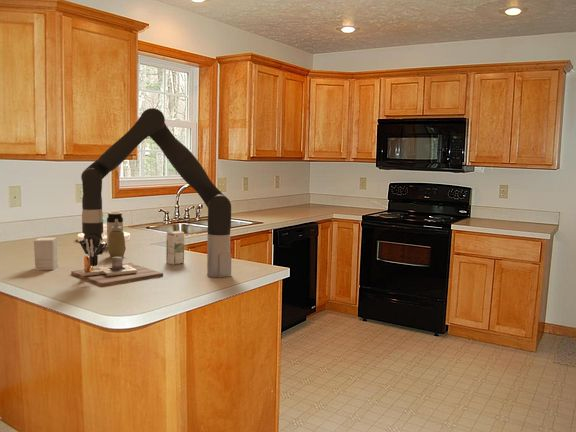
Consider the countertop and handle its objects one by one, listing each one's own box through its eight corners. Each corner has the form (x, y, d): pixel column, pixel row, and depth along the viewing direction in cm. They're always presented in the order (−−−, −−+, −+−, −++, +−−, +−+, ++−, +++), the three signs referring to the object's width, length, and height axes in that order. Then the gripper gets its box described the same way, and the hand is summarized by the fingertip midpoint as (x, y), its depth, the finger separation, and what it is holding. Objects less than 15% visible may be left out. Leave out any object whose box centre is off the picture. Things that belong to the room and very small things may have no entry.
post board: (163, 276, 210) (163, 258, 209) (102, 286, 191) (101, 267, 190) (130, 265, 227) (129, 249, 227) (71, 274, 209) (70, 256, 208)
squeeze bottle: (129, 257, 246) (128, 219, 244) (113, 259, 240) (112, 220, 238) (120, 254, 251) (119, 217, 249) (104, 256, 245) (104, 219, 243)
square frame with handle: (126, 267, 217) (126, 250, 217) (137, 272, 208) (137, 255, 207) (79, 272, 206) (79, 254, 205) (88, 278, 197) (87, 259, 196)
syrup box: (176, 261, 239) (176, 230, 237) (184, 263, 235) (184, 231, 234) (166, 263, 235) (166, 231, 233) (174, 265, 231) (174, 232, 229)
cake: (78, 245, 275) (78, 227, 274) (76, 237, 301) (76, 221, 300) (133, 243, 286) (132, 226, 285) (126, 235, 312) (126, 220, 311)
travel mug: (125, 245, 276) (125, 212, 274) (119, 248, 268) (119, 213, 266) (111, 244, 277) (110, 211, 275) (104, 247, 269) (104, 213, 267)
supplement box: (58, 266, 222) (57, 237, 221) (53, 270, 215) (52, 240, 214) (39, 266, 221) (38, 237, 220) (34, 270, 214) (33, 240, 213)
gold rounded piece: (94, 273, 205) (94, 266, 205) (88, 274, 204) (88, 267, 203) (91, 272, 207) (91, 265, 207) (86, 273, 205) (86, 266, 205)
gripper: (112, 221, 197) (113, 266, 199) (88, 218, 203) (89, 262, 205) (96, 223, 190) (98, 269, 192) (72, 220, 197) (73, 265, 199)
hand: (93, 265), depth 199 cm, fingers closed
